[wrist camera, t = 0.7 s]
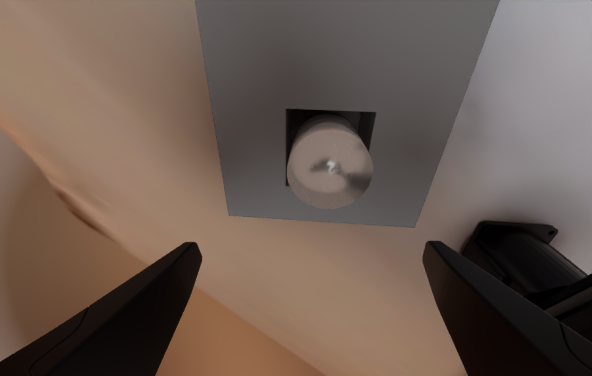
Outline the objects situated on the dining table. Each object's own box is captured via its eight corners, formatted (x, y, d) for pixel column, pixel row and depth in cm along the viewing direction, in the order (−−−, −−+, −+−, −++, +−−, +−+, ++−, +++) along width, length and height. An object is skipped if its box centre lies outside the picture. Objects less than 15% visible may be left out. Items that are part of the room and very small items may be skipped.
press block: (567, -370, 8) (758, -691, 5) (397, 198, 20) (414, 227, 17) (185, -344, 9) (99, -606, 5) (243, 189, 21) (228, 215, 17)
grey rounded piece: (365, 115, 14) (381, 134, 10) (353, 178, 16) (364, 211, 13) (293, 112, 14) (286, 130, 11) (292, 175, 16) (286, 206, 13)
